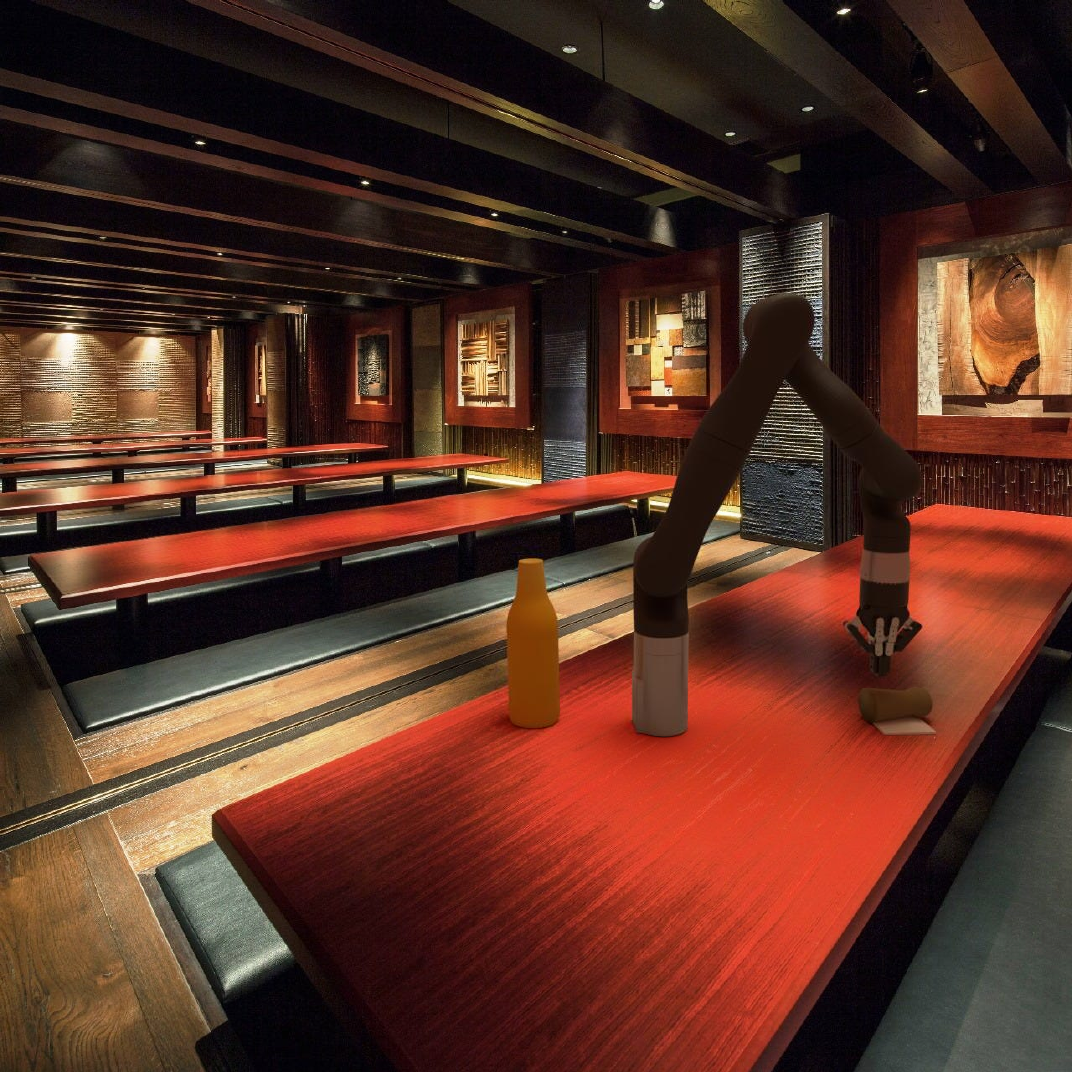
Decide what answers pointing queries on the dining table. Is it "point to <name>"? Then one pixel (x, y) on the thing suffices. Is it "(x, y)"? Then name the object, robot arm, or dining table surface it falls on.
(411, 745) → the dining table surface
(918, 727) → the mat
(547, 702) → the beer bottle
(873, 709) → the cork
